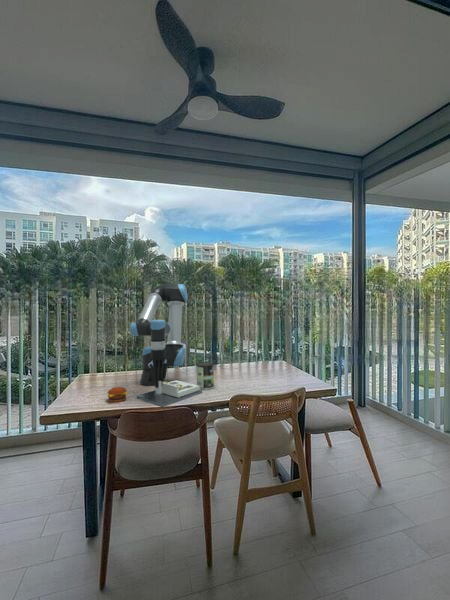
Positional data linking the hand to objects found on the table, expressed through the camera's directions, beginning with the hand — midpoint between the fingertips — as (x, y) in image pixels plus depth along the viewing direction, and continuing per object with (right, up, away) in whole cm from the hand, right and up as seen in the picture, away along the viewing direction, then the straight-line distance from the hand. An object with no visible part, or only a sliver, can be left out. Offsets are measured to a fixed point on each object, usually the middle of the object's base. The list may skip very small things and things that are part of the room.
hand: (158, 393), depth 162 cm
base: (+5, -3, +6) cm, 9 cm away
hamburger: (-22, -4, 0) cm, 23 cm away
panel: (+8, -2, +10) cm, 13 cm away
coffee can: (+23, -3, +21) cm, 31 cm away
